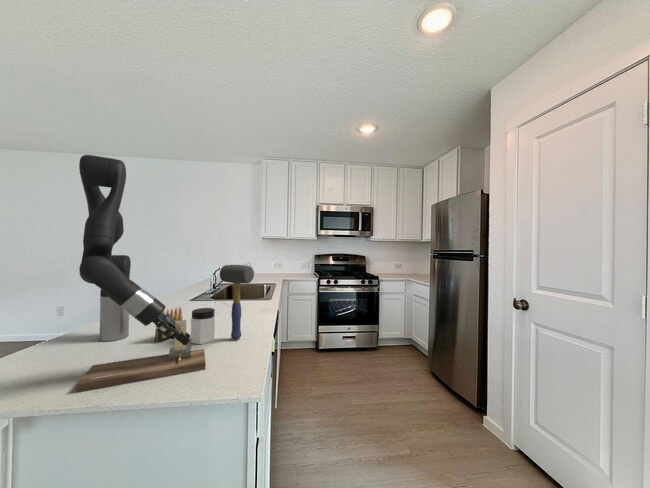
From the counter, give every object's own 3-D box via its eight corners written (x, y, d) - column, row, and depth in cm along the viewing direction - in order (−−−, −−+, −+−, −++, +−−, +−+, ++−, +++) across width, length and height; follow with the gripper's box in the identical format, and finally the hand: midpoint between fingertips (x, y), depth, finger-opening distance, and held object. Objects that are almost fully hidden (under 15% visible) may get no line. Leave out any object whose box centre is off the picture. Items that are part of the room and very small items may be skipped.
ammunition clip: (157, 343, 101) (158, 311, 101) (154, 342, 102) (155, 311, 102) (183, 334, 111) (183, 306, 111) (180, 334, 112) (181, 305, 112)
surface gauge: (170, 353, 87) (170, 320, 87) (190, 350, 89) (191, 318, 89) (167, 365, 78) (168, 328, 78) (190, 362, 81) (190, 326, 81)
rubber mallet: (254, 338, 108) (255, 264, 108) (243, 344, 101) (244, 265, 101) (229, 334, 112) (230, 263, 112) (216, 340, 105) (218, 264, 105)
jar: (185, 342, 102) (186, 311, 102) (201, 335, 110) (201, 306, 110) (204, 345, 99) (205, 313, 99) (219, 338, 107) (219, 308, 107)
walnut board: (92, 372, 78) (92, 365, 78) (204, 354, 91) (204, 348, 91) (76, 392, 67) (76, 384, 67) (205, 369, 80) (205, 362, 80)
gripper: (150, 301, 76) (197, 338, 81) (157, 293, 89) (196, 325, 94) (127, 322, 73) (177, 358, 79) (137, 311, 86) (179, 342, 91)
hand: (187, 340), depth 86 cm, fingers open, 3 cm apart
